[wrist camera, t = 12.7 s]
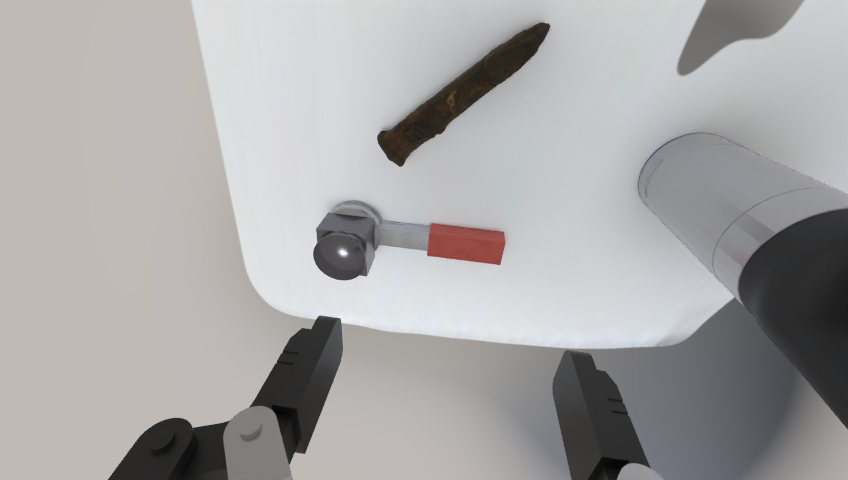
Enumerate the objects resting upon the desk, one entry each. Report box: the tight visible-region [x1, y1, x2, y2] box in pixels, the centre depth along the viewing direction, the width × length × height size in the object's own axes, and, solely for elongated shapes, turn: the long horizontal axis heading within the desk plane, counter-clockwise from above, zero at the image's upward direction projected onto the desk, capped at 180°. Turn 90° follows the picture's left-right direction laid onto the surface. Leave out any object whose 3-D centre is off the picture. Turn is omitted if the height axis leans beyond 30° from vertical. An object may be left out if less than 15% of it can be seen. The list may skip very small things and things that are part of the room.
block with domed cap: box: [313, 213, 375, 280], centre depth 42 cm, size 6×6×5 cm
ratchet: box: [332, 201, 505, 265], centre depth 43 cm, size 22×7×6 cm, turn 86°
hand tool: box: [377, 23, 550, 167], centre depth 35 cm, size 19×4×5 cm, turn 126°
